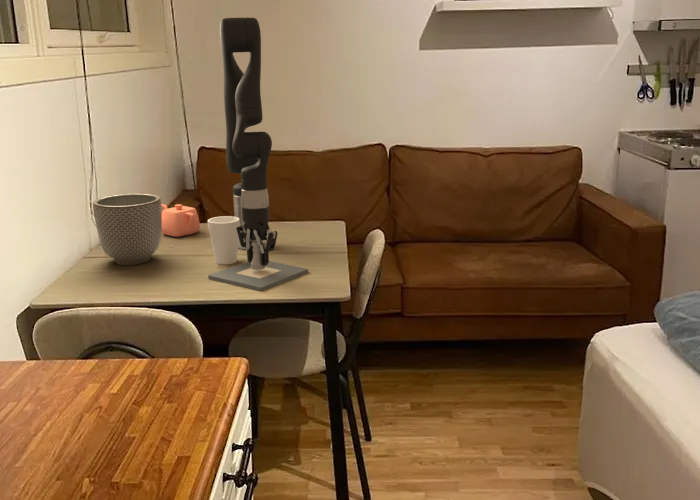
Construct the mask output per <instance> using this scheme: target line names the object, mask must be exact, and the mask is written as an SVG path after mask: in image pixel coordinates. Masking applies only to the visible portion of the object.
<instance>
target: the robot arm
mask: <svg viewBox="0 0 700 500" xmlns="http://www.w3.org/2000/svg"><path fill="white" fill-rule="evenodd" d="M219 41H220V50H221V59H222V61H221V62H222V68H223V69H222V70H223V71H222V72H223V102H224V104H223V107H224V115H225V127H226V129H225V130H226V131H225V132H226V139H225V141H226V144H225V147H226V148H225V159H226V160H225V161H226V162H225V163H226V167H227V170H228V172H230V173H231V174H240V181H241V182H238V183H236V184H234V185H233V186H232V196H233V197H232V198H233V199H232V200H233V212H234V215H233V217H238V218H239V219H240V226H239V227H237V228H236V230H237V233H238V237H239V239H238V249H240V250H246V259H247V262H249V263H251V261H252V259H253V250H252V249H253V246H252V245H251V244H252V243H253V242H252V241H253V240H256V241H257V244H258V246H259V247H260V250H261V253H260V254H261V265H262V266H265V265H268V263H269V261H270V257H269V256H270V255H269V252H272V251H275V249H276V244H277V238H278V231H277V230H272V229H271V228H270V226H269V221H270V201H269V198H270V197H269V192H268V181H267V180H268V176H267V173H268V166H269V165H268V164H269V160H270V157H271V156H270V155H271V151H272V146H273V141H272V137H271V136H270V134H269V133H268V132H266V131H246V129H247V128H249V127H250V128H251V127H254V126H257V125H259V124H261V123H262V122H263V117H264V116H263V107H262V97H261V77H262V76H261V75H262V74H261V73H262V68H261V67H262V35H261V27H260V23H259V21H258V20H257V18H256V17H226V18H222V19H221V21H220V23H219ZM234 53H249V61H248V65H247V67H246V70H245V71H244V72H243V71H242V69H241V68H240V66H239V65H238V63H237V60H236V59H235V57H234Z"/></svg>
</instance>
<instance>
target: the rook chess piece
mask: <svg viewBox="0 0 700 500" xmlns="http://www.w3.org/2000/svg"><path fill="white" fill-rule="evenodd" d="M252 242H253V243H252V244H251V245H252V246H253V249H252V250H253V259H252V261H251V263H250V264H251V266H250V267H251V268H252V269H253V270H262V269H265V267H266V265H265V266H262V265H261V254H260V253H261V250H260V247H259V246H258V244H257V241H256V240H253V241H252Z"/></svg>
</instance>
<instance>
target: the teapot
mask: <svg viewBox="0 0 700 500" xmlns="http://www.w3.org/2000/svg"><path fill="white" fill-rule="evenodd" d="M161 208H162V210H161V215H162V233H161V234H164V235H167V236H171V237H178V238H181V237H183V236H189V235H193V234H194V233H198V232H199V231H200V228H201V225H200V218H199V214H198V212H197V209H196V208H195V207H190V206H186V205H183V204H180V203H179V204H175V205H174V207H170V208H168V205H166V204H163V203H161Z"/></svg>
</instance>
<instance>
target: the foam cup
mask: <svg viewBox="0 0 700 500" xmlns="http://www.w3.org/2000/svg"><path fill="white" fill-rule="evenodd" d="M239 226H240V219H239V218H238V217H234V215H233V216H232V215H228V216H227V215H225V216H224V215H223V216H221V215H220V216H215V217H211V218H209V219H207V229H208V231H209V236H210V240H211V245H212V246H211V247H212V250H213V254H214V260H215V263H216V264H217V265H232V264H235V263H237V261H238V253H239V251H238V250H239V248H238V239H239V237H238V233H237V230H236V228H237V227H239Z"/></svg>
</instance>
